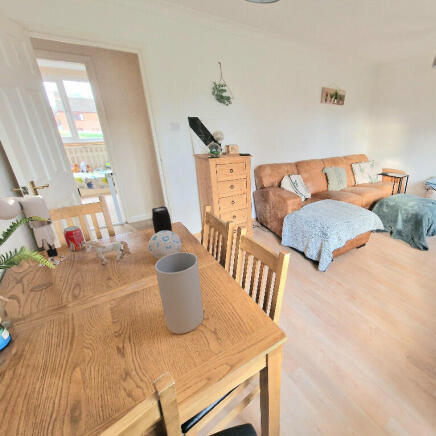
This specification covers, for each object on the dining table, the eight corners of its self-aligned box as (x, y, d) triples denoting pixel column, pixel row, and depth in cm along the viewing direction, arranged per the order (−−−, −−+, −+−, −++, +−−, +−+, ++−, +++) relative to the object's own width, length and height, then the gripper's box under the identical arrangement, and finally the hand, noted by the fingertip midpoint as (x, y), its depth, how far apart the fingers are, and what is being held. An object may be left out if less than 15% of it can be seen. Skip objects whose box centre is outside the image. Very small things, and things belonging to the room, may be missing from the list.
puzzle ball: (189, 256, 126) (185, 231, 121) (161, 269, 114) (156, 241, 109) (172, 247, 134) (168, 223, 128) (144, 258, 122) (139, 232, 116)
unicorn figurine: (81, 267, 112) (72, 242, 107) (127, 252, 127) (122, 229, 122) (86, 273, 109) (77, 248, 103) (133, 257, 123) (127, 233, 118)
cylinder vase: (177, 307, 93) (168, 251, 83) (209, 309, 92) (203, 253, 83) (159, 333, 81) (146, 271, 72) (195, 336, 81) (186, 275, 71)
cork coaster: (28, 288, 98) (28, 287, 98) (47, 280, 103) (47, 279, 103) (35, 292, 96) (34, 292, 95) (54, 284, 101) (53, 284, 100)
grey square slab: (36, 266, 111) (35, 263, 111) (47, 257, 118) (46, 254, 118) (57, 264, 114) (56, 261, 113) (67, 256, 121) (66, 253, 120)
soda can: (69, 247, 128) (62, 227, 124) (86, 244, 132) (80, 224, 128) (68, 253, 123) (61, 232, 119) (86, 249, 127) (79, 229, 123)
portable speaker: (172, 241, 140) (167, 210, 133) (154, 243, 137) (148, 211, 130) (174, 235, 148) (169, 205, 140) (157, 236, 145) (151, 206, 137)
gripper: (33, 218, 115) (46, 251, 122) (25, 229, 104) (39, 265, 111) (54, 215, 119) (65, 247, 126) (48, 226, 108) (61, 260, 115)
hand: (53, 255), depth 118 cm, fingers closed
